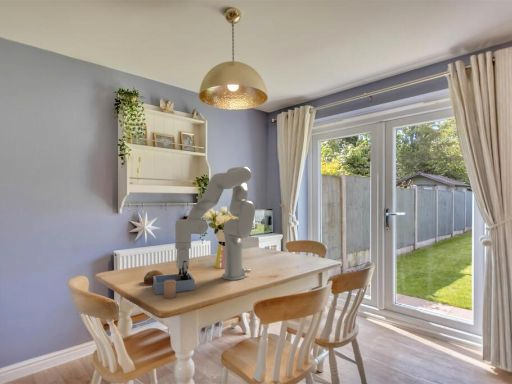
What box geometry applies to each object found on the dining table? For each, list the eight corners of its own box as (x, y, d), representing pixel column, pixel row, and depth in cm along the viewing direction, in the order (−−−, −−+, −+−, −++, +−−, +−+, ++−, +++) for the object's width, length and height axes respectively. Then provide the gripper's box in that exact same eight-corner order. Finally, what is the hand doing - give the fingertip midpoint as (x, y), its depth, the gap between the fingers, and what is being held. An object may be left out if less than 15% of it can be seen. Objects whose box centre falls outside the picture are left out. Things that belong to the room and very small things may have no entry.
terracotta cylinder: (175, 294, 137) (175, 279, 137) (176, 298, 133) (176, 282, 133) (163, 295, 135) (163, 280, 135) (164, 299, 131) (164, 283, 131)
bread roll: (159, 286, 162) (156, 271, 164) (170, 281, 156) (166, 265, 158) (142, 290, 154) (139, 275, 156) (152, 285, 148) (149, 269, 150)
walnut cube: (177, 285, 149) (177, 274, 149) (187, 283, 151) (187, 273, 151) (178, 288, 145) (178, 277, 145) (189, 286, 146) (189, 276, 146)
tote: (189, 282, 156) (189, 272, 156) (194, 290, 143) (194, 279, 143) (153, 286, 149) (153, 276, 149) (155, 294, 136) (155, 283, 136)
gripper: (173, 242, 154) (172, 278, 154) (177, 248, 138) (177, 288, 138) (187, 241, 157) (187, 276, 157) (194, 247, 141) (194, 286, 141)
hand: (182, 281), depth 148 cm, fingers open, 6 cm apart
